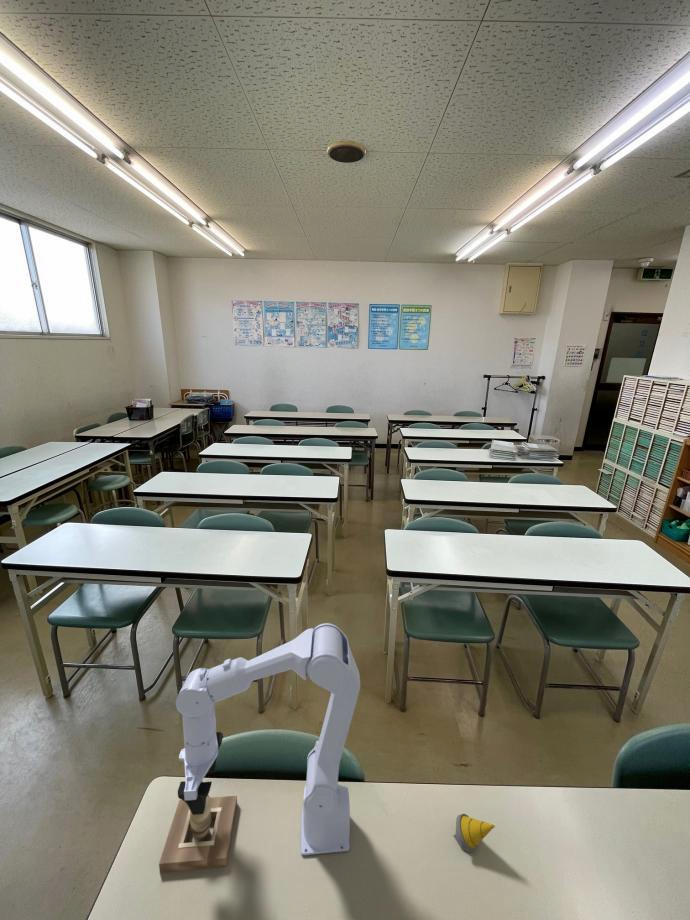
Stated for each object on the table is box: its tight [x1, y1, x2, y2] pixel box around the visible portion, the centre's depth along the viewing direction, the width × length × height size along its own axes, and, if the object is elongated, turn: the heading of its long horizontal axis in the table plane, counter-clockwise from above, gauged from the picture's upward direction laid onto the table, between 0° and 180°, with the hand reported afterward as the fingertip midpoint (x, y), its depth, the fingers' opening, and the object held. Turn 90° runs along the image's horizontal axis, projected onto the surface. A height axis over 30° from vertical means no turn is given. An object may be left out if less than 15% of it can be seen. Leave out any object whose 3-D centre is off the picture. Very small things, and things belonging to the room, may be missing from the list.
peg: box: [190, 794, 212, 842], centre depth 75 cm, size 4×4×8 cm
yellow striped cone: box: [453, 813, 496, 853], centre depth 74 cm, size 5×5×10 cm
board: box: [158, 795, 238, 873], centre depth 75 cm, size 12×11×2 cm
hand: (203, 790), depth 74 cm, fingers open, 7 cm apart
